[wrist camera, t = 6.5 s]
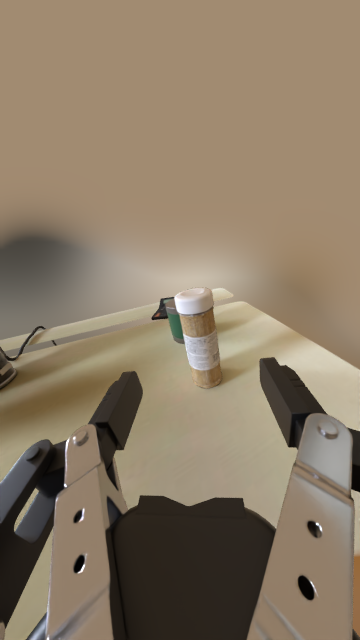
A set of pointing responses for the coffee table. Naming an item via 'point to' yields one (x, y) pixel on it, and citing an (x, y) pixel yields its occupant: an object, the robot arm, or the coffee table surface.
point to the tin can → (174, 321)
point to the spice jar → (200, 335)
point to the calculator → (162, 310)
